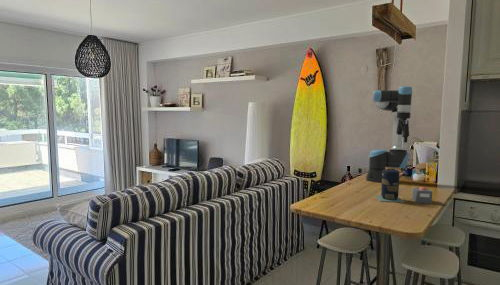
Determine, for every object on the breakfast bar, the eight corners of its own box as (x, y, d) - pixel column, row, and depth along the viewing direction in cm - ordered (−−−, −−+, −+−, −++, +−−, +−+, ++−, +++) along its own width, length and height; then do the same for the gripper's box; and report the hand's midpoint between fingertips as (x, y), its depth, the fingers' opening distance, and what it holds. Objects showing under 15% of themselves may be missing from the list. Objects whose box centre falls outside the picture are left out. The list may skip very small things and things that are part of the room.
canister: (399, 201, 196) (401, 170, 194) (382, 199, 198) (384, 169, 196) (396, 196, 205) (397, 167, 204) (379, 195, 207) (381, 166, 206)
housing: (412, 199, 203) (413, 187, 203) (426, 199, 202) (427, 188, 201) (416, 202, 195) (417, 190, 194) (431, 203, 194) (432, 191, 193)
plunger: (417, 198, 201) (418, 186, 200) (424, 198, 200) (424, 187, 199) (419, 200, 197) (420, 188, 196) (426, 200, 196) (427, 188, 196)
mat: (375, 196, 208) (375, 195, 208) (398, 197, 206) (398, 196, 206) (380, 201, 197) (380, 200, 197) (403, 202, 195) (403, 201, 194)
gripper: (392, 111, 221) (390, 143, 224) (402, 112, 197) (400, 148, 200) (404, 111, 220) (402, 143, 223) (416, 112, 196) (414, 149, 198)
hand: (401, 146), depth 211 cm, fingers open, 13 cm apart
